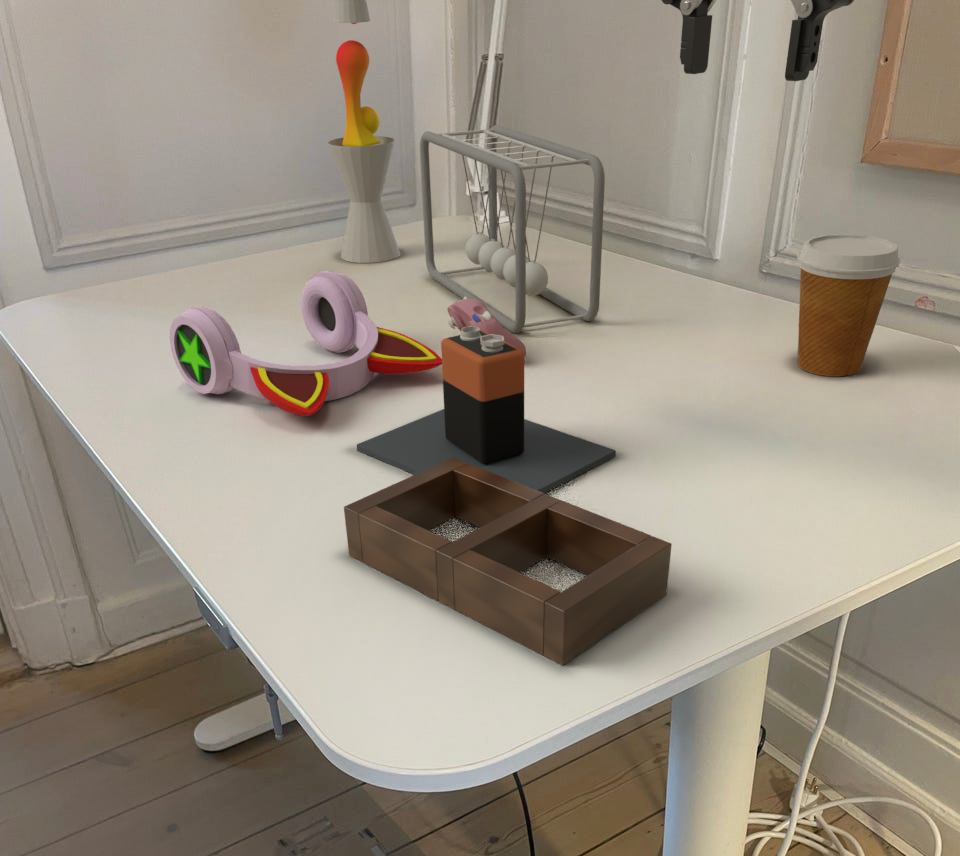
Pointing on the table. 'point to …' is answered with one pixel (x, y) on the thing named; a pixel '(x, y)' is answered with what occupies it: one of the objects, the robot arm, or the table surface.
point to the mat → (537, 467)
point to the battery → (483, 394)
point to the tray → (509, 556)
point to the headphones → (298, 389)
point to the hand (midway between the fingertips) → (744, 76)
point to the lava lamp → (361, 152)
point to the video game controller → (479, 320)
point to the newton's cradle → (493, 253)
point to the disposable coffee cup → (841, 299)
